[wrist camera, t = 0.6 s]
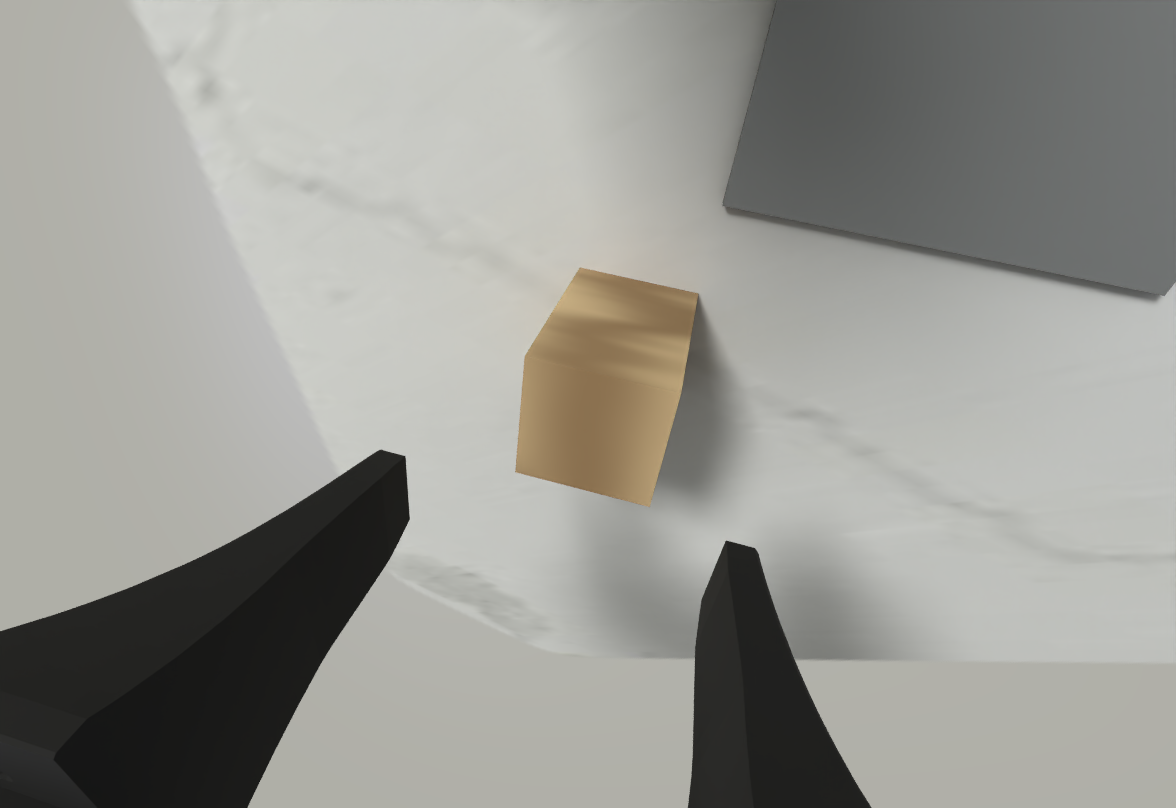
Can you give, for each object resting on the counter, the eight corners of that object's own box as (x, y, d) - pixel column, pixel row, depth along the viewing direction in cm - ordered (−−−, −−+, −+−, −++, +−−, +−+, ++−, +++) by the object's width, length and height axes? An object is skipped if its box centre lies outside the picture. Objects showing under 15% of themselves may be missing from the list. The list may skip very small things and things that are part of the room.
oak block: (698, 293, 19) (681, 393, 14) (672, 392, 22) (649, 506, 17) (580, 267, 20) (524, 356, 15) (566, 367, 22) (515, 471, 17)
